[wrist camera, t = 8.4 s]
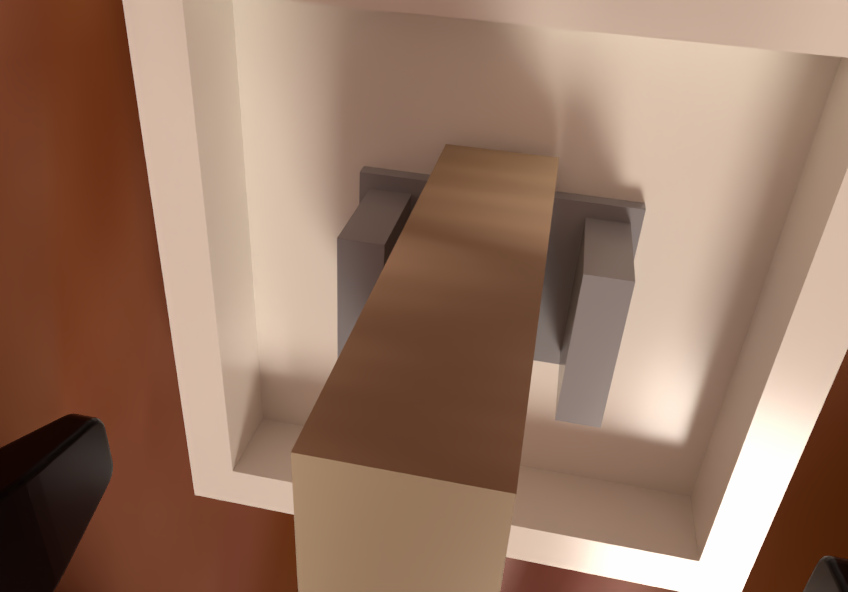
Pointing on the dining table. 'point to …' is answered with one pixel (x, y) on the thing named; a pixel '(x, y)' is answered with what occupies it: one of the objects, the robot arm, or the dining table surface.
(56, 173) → the dining table surface
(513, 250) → the tan cuboid brick
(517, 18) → the dish
